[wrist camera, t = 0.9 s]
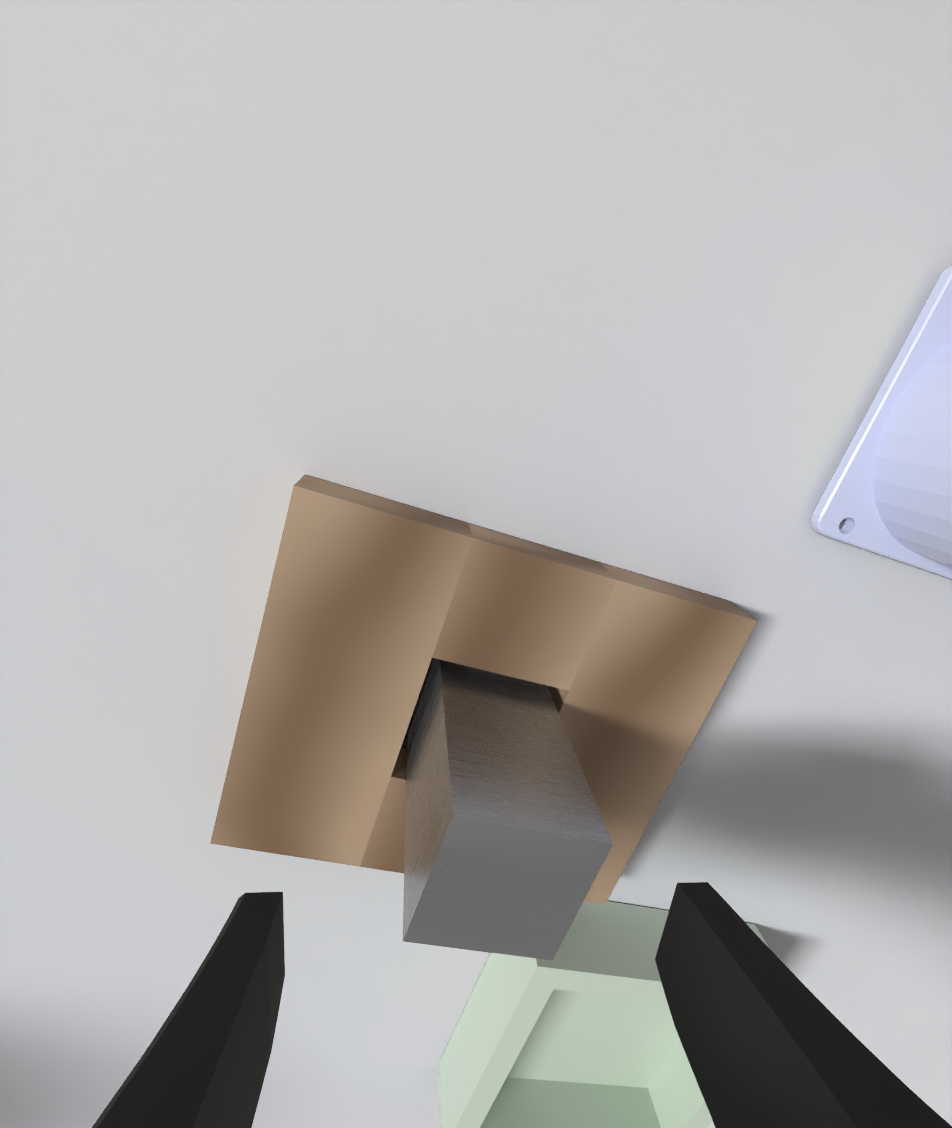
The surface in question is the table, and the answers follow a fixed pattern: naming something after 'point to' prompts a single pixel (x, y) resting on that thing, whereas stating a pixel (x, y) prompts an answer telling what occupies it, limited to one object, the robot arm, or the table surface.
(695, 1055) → the robot arm
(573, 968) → the tray
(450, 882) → the pin
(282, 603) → the tan flat square frame
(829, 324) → the table surface
